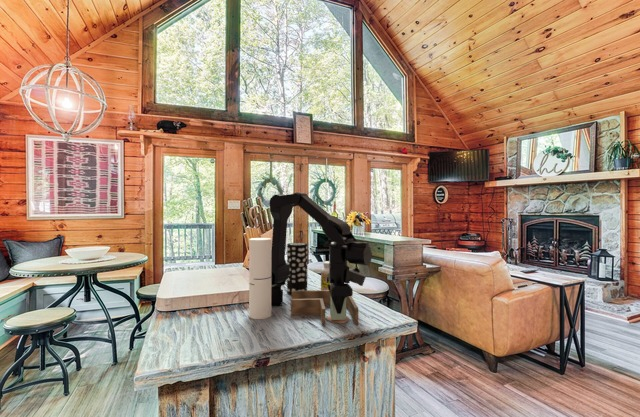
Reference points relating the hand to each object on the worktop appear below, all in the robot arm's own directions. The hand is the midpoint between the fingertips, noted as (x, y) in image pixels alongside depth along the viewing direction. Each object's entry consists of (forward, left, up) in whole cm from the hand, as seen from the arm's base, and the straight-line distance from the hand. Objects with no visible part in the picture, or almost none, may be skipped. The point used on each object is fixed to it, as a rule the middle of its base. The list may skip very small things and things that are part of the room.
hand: (338, 310), depth 100 cm
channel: (-5, +6, -3) cm, 8 cm away
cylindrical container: (-25, +5, -3) cm, 26 cm away
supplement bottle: (0, +29, -3) cm, 29 cm away
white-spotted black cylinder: (-13, +31, -3) cm, 34 cm away
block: (0, 0, -2) cm, 2 cm away
